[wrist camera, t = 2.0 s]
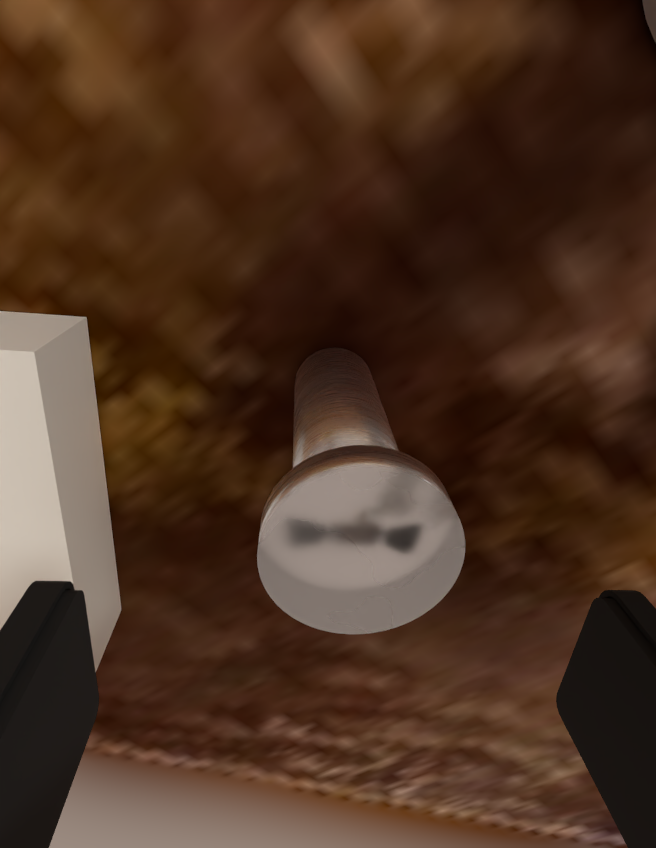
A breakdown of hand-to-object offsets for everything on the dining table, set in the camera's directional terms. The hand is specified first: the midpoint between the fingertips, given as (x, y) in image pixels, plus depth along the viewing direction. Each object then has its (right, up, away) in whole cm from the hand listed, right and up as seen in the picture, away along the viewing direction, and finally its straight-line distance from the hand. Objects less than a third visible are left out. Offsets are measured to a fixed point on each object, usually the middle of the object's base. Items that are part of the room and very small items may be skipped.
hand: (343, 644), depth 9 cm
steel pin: (0, +6, +10) cm, 12 cm away
